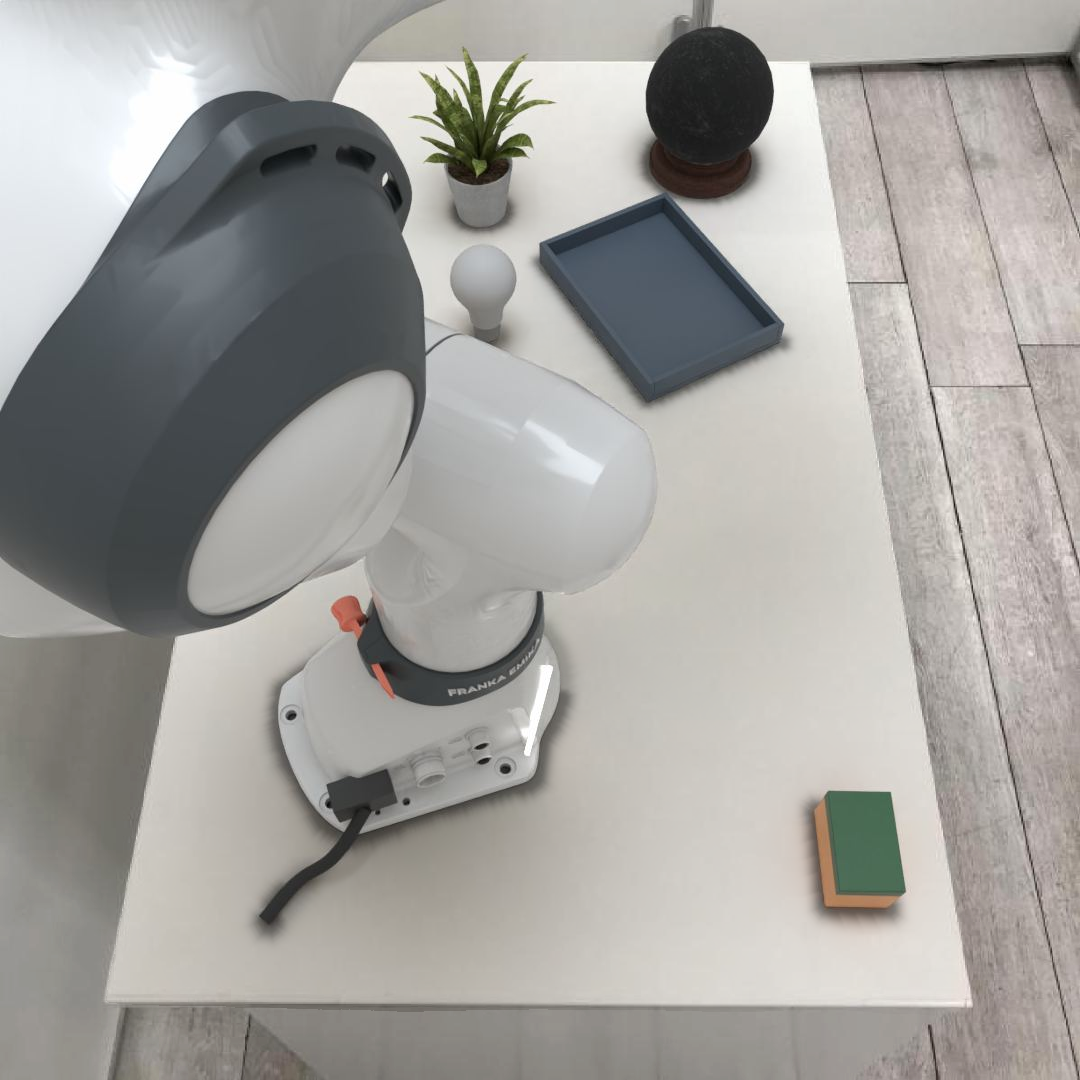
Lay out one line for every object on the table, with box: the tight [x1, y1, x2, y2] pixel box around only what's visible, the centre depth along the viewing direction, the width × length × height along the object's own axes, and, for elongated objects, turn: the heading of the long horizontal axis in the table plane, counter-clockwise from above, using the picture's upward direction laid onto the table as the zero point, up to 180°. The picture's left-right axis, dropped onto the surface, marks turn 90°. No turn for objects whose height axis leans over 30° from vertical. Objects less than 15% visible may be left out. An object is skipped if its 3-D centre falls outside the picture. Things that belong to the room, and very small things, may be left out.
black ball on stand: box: [645, 26, 775, 200], centre depth 111 cm, size 13×13×15 cm
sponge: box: [813, 790, 907, 909], centre depth 76 cm, size 7×4×5 cm, turn 179°
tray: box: [538, 191, 785, 403], centre depth 106 cm, size 15×21×3 cm
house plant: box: [407, 46, 557, 228], centre depth 107 cm, size 14×14×16 cm
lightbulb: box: [449, 243, 517, 343], centre depth 100 cm, size 6×6×11 cm
